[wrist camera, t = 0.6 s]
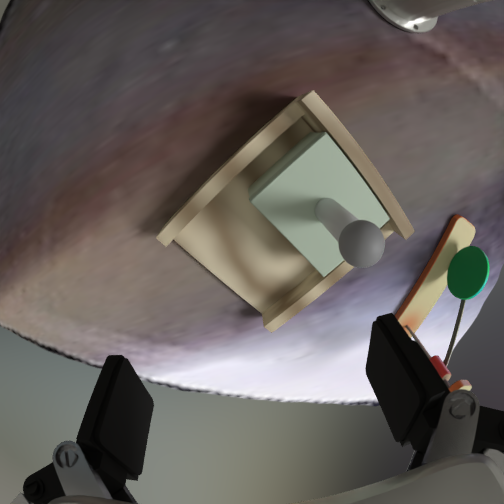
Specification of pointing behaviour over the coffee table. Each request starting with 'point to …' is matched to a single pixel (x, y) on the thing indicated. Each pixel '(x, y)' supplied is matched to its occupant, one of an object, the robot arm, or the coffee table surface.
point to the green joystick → (322, 205)
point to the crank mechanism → (436, 279)
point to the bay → (259, 227)
